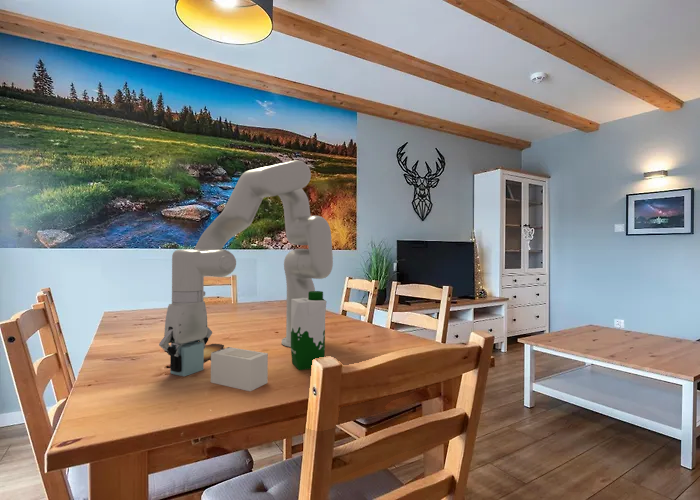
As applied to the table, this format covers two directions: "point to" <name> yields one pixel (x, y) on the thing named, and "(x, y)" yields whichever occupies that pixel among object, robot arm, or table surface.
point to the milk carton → (307, 329)
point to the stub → (191, 358)
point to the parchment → (210, 350)
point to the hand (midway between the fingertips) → (187, 366)
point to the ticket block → (239, 368)
